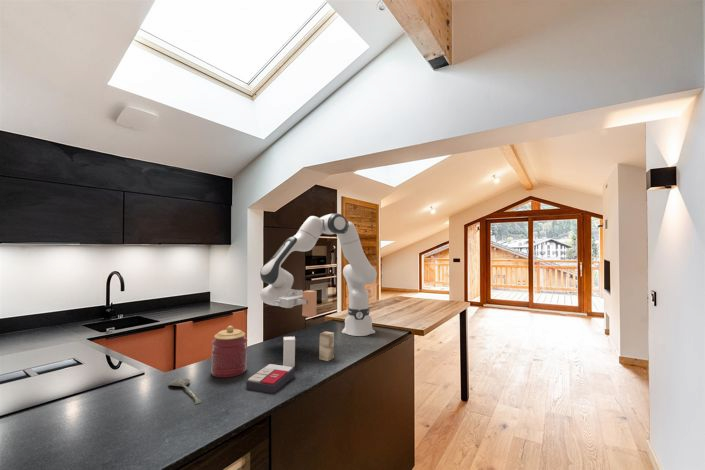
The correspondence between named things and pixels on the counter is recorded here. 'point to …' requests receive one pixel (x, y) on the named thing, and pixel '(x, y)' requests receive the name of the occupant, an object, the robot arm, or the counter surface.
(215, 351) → the canister
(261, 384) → the flat patterned box
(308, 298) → the terracotta block
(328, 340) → the ash block
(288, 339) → the grey block
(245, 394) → the counter surface
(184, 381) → the grey axe
